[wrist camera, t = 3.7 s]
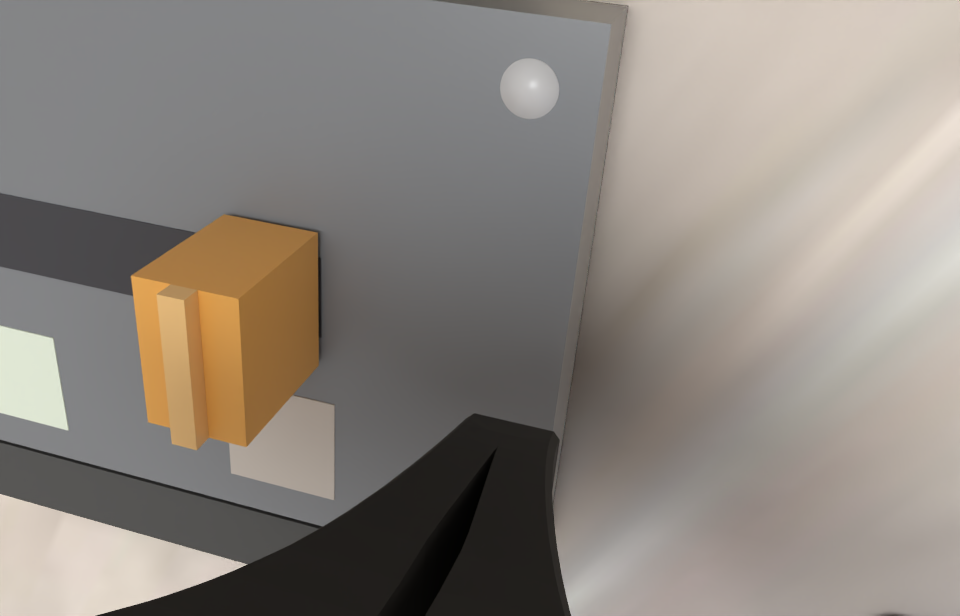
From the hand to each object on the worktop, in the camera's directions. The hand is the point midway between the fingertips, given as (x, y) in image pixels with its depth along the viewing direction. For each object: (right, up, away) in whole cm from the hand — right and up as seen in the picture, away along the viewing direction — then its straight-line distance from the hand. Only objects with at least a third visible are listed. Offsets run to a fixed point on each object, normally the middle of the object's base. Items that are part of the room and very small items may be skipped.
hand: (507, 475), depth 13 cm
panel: (-6, +4, +7) cm, 10 cm away
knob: (-5, +3, +5) cm, 7 cm away
